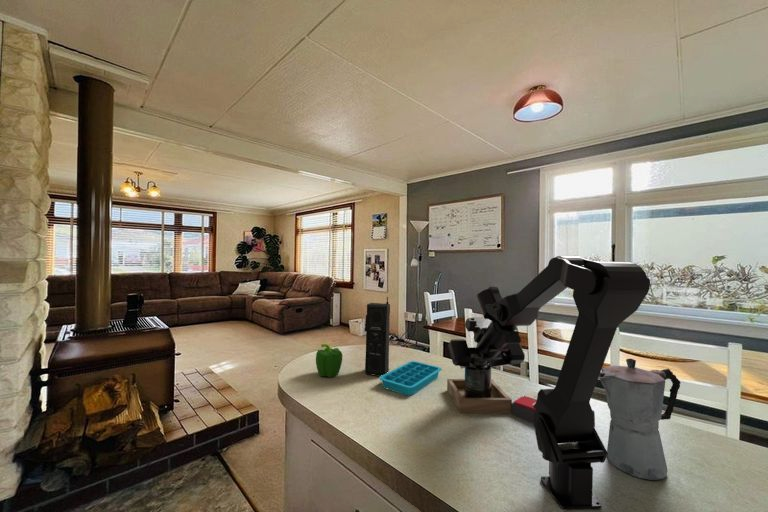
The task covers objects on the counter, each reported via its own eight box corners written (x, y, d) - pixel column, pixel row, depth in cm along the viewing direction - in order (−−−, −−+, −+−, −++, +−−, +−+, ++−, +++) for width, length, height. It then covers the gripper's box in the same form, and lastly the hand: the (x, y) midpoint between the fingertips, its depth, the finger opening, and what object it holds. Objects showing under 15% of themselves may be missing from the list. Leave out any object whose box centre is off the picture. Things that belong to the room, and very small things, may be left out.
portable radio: (361, 374, 101) (362, 297, 101) (367, 368, 107) (369, 295, 107) (384, 377, 99) (386, 298, 99) (389, 370, 105) (391, 296, 105)
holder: (511, 413, 78) (511, 399, 78) (460, 412, 77) (460, 399, 77) (491, 390, 91) (491, 379, 91) (447, 390, 90) (447, 378, 90)
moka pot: (580, 449, 63) (582, 351, 63) (651, 448, 64) (653, 351, 64) (618, 484, 54) (620, 367, 54) (701, 481, 55) (703, 367, 55)
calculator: (530, 389, 85) (594, 407, 73) (531, 405, 84) (595, 426, 73) (510, 400, 78) (578, 422, 66) (510, 418, 77) (578, 443, 66)
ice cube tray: (442, 377, 101) (443, 367, 101) (411, 399, 85) (411, 388, 85) (411, 369, 108) (412, 360, 108) (376, 388, 91) (377, 378, 92)
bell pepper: (345, 371, 104) (345, 340, 104) (337, 380, 96) (338, 348, 96) (320, 369, 105) (321, 339, 105) (311, 378, 97) (312, 346, 97)
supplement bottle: (475, 390, 88) (475, 348, 89) (496, 399, 83) (496, 354, 83) (459, 396, 84) (459, 352, 84) (480, 406, 79) (480, 359, 79)
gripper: (519, 308, 82) (496, 339, 93) (451, 308, 79) (436, 340, 90) (538, 346, 74) (511, 375, 85) (463, 348, 71) (445, 378, 82)
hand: (475, 366), depth 85 cm, fingers open, 8 cm apart
